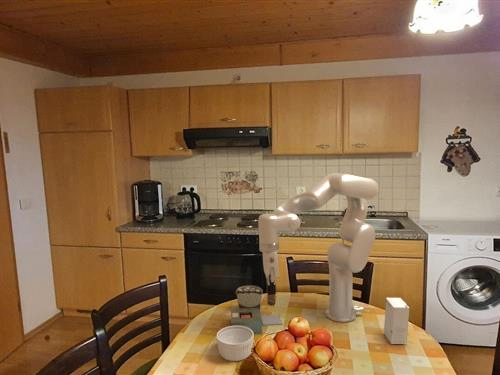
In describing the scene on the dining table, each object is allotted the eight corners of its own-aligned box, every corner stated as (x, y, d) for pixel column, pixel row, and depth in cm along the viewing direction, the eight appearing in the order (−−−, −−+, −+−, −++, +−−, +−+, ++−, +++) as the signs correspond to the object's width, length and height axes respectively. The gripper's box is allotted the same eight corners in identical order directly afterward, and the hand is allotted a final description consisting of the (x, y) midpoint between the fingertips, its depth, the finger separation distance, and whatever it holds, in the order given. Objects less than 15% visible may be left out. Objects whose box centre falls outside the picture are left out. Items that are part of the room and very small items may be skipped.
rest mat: (279, 315, 154) (279, 314, 154) (282, 324, 146) (282, 323, 146) (260, 316, 153) (260, 315, 153) (263, 325, 146) (263, 324, 145)
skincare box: (383, 334, 138) (384, 296, 136) (399, 333, 138) (400, 296, 136) (391, 345, 129) (393, 306, 128) (408, 345, 129) (409, 306, 128)
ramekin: (212, 347, 130) (211, 329, 130) (245, 339, 135) (245, 322, 135) (224, 367, 118) (223, 347, 117) (260, 358, 123) (259, 339, 123)
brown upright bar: (274, 301, 140) (273, 269, 139) (275, 305, 137) (274, 272, 136) (267, 302, 140) (265, 270, 139) (268, 305, 137) (266, 273, 136)
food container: (264, 306, 164) (263, 285, 162) (263, 312, 157) (263, 290, 156) (237, 305, 165) (237, 284, 164) (235, 311, 159) (235, 290, 158)
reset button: (250, 318, 147) (250, 314, 147) (251, 322, 143) (250, 319, 143) (241, 318, 146) (240, 315, 146) (241, 323, 143) (241, 319, 143)
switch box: (259, 318, 151) (259, 307, 151) (262, 333, 140) (262, 320, 139) (230, 320, 150) (230, 308, 150) (231, 335, 139) (231, 322, 138)
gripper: (282, 251, 128) (284, 300, 130) (275, 240, 144) (277, 283, 147) (262, 253, 128) (263, 302, 130) (257, 241, 144) (259, 285, 146)
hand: (271, 291), depth 138 cm, fingers closed on brown upright bar, 3 cm apart
